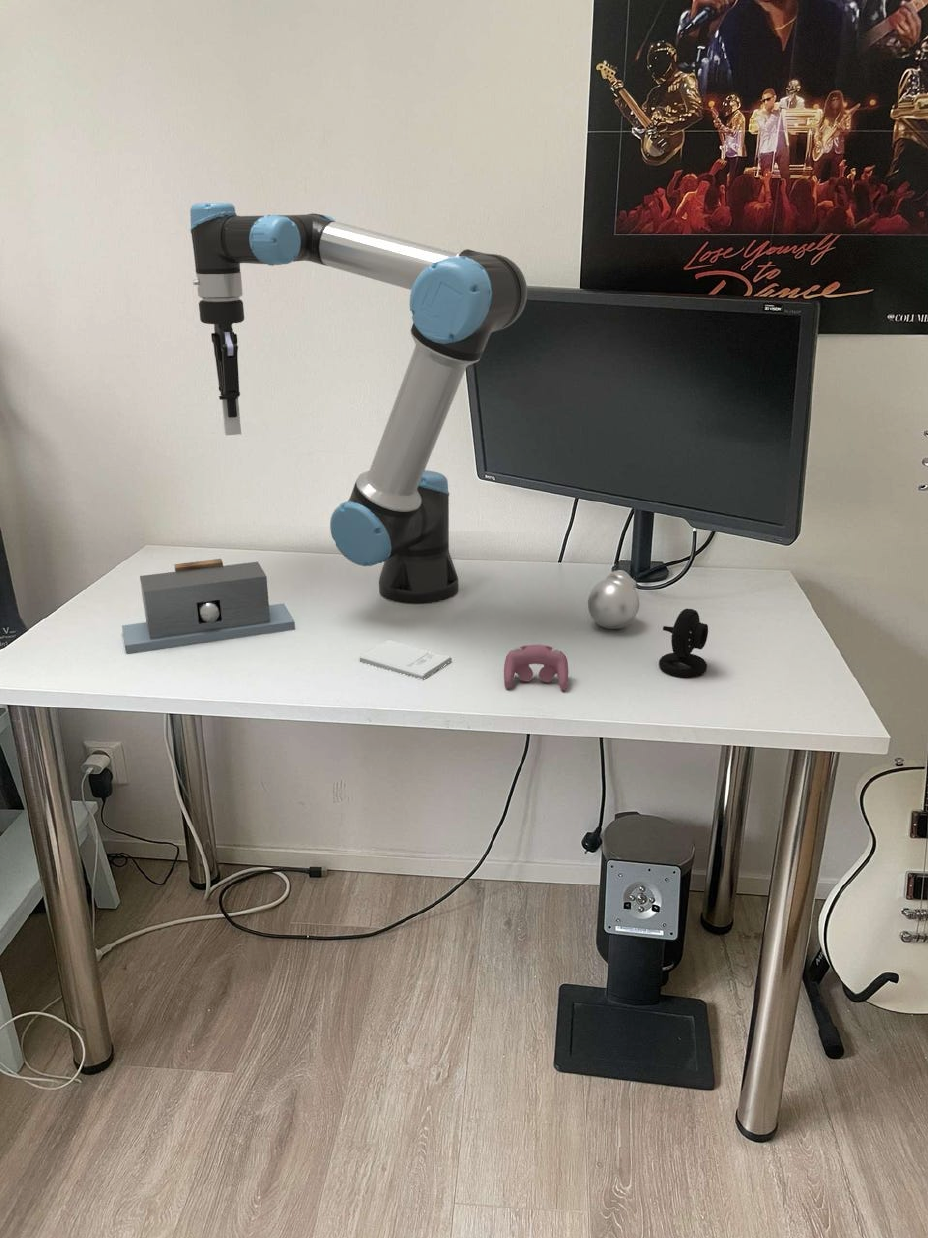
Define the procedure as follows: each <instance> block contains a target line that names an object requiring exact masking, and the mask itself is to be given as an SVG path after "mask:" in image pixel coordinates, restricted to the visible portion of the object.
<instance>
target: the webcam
mask: <svg viewBox="0 0 928 1238" xmlns="http://www.w3.org/2000/svg"><path fill="white" fill-rule="evenodd" d="M674 621H675V622H674V624H673V626H665V625H663V626H662V631H665V632H667V633H670V634H671V641H670V642H671V650H672V652H669V653H666V654H665V655H663V656H661V657H660V659H659V661H658V666H659V668H660V670H662V672H664V673H666V674H667V675H669V676H671V677H676V678H683V677H684V679H686V678H688V679H689V678H696V677H700V676H702V675H703V674H705V673H706V672H707V670H708V669H707V668H708V664H707V662H706V661H705V659H704V658H703V657H702V656H699V655H697V654H694V653H692V652H693V650H694V649H697V650H702V649H703V648H705V645H706V642H707V640H708V634H709V626H708V624H707V623H703V622H701V621H700V615H699V612H698V611H697V610H695V609H693V608H685V609H684V608H683V610H682V611H681V612H680V613H679V614H678V615H677V618H676V620H674ZM670 663H678V664H683V665H685V666H688V668H685V667H684V668H683V667H682V668H681V667H677V666H674V665H671V664H670Z"/></svg>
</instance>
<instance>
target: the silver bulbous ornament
mask: <svg viewBox="0 0 928 1238" xmlns="http://www.w3.org/2000/svg"><path fill="white" fill-rule="evenodd" d="M636 588H637V581H636V580H635V579H633V578H632V577H631V575H629V573H627V572H626V571H625V570H622V569H617V570H613V571H611V573H609V574H608V576H607V577H606V578H605V579H603V580H600V581H599V582H597V583H596V584H595V585H594V586H593V588H592V589H591V590H590V592H589V595H588V598H587V610H588V612H589V615H590V617H591V618H592V620H593V621H594V622H595V623H596V624H597V625H599V626H601V627H602V628H605V629H610V630H619V629H621V628H622V629H623V628H624V627H627V626H628V625H629V624H631V623H632V622H633V621H634V620H635V619H636V617H637V615H638V613H639V610H640V598H639V597H640V596H639V595H638V594H639V593H638V592H637V590H636Z"/></svg>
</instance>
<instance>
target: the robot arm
mask: <svg viewBox="0 0 928 1238" xmlns="http://www.w3.org/2000/svg"><path fill="white" fill-rule="evenodd" d="M189 212H190V229H189V230H190V231H189V232H190V233H191V241H192V249H193V257H194V263H195V264H194V266H195V275H196V279H193V280H192V282H193V286H196V287H197V295H198V297H199V298H201V300H199V302H198V308H199V309H198V310H199V318H200V321H201V323H202V324H206V325H214V326H213V329H214V332H212V333H210V335H211V337H210V338H211V342H212V344H213V352H214V357H215V358H214V359H215V366H216V373H217V380H218V390H219V392H220V395H219V396H218V397H219V400H221V405H222V407H221V408H222V415H223V427H224V435H225V436H237V435H242V429H241V428H242V427H241V426H242V425H241V416H240V406H239V397H240V395H241V392H240V380H239V378H240V377H239V362H238V361H239V360H238V358H239V357H238V353H239V352H238V351H239V350H238V349H239V345H238V335H237V333H235V332H234V329H233V324H238V323H242V322H244V320H245V312H244V310H245V309H244V302H243V300H242V299H240V297H242V296H243V285H242V272H241V264H255V265H268V266H272V267H273V266H282V265H289V264H291V263H293V262H294V263H295V262H304V261H305V262H312V263H315V264H317V265H318V264H319V265H321V266H325V267H331V268H334V269H337V270H340V271H343V272H344V271H345V272H347V273H350V274H353V275H354V274H355V275H358V276H361V277H364V278H369V279H372V280H375V281H379V282H382V283H386V284H389V285H392V286H396V287H400V288H403V289H406V290H410V295H409V311H410V312H411V315H412V317H411V319H412V326H411V329H410V335H411V338H412V339H413V341H414V344H415V346H414V348H413V352H412V354H411V357H410V360H409V362H408V365H407V368H406V370H405V374H404V376H403V378H402V382H401V384H400V385H399V386H400V387H399V390H398V392H397V396H396V398H395V400H394V403H393V405H392V409H391V411H390V414H389V417H388V419H387V422H386V425H385V426H384V427H385V428H384V430H383V432H382V436H381V438H380V441H379V443H378V446H377V449H376V452H375V455H374V458H373V460H372V463H371V465H370V469H369V470H367V471H364V472H362V473H360V474H358V476H357V478H356V480H355V483H354V484H353V488H352V491H351V493H350V496H349V499H348V500H347V501H344V502H341V503H340V504H339V505H338V506H337V507H336V508H335V509H334V510H333V512H332V513H331V516H330V522H329V529H330V530H329V531H330V535H331V538H332V539H333V541H334V543H335V546H336V549H338V551H339V553H341V555H342V556H344V558H346V559H347V560H349V561H350V562H351V563H353V564H356V565H359V566H362V567H369V566H370V567H371V566H375V565H377V564H382V563H383V565H382V567H381V568H382V569H381V572H380V574H379V578H378V592H379V595H381V596H382V597H383V598H385V599H386V600H389V601H392V602H394V603H400V604H409V605H410V604H411V605H426V604H432V603H433V604H435V603H438V602H439V603H440V602H443V601H447V600H449V599H450V598H453V597H454V596H455V595H457V594H458V591H459V576H458V574H457V571H456V567H455V565H454V562H453V560H452V555H451V553H450V547H449V546H450V542H449V541H450V533H449V531H450V530H449V529H450V521H449V519H450V518H449V517H450V515H449V514H450V513H449V512H450V509H449V508H450V507H449V504H450V502H449V499H450V492H449V483H448V482H449V481H448V479H447V477H446V476H445V475H444V474H442V473H441V472H437V471H434V470H433V471H432V470H427V469H426V468H427V465H428V463H429V461H430V459H431V456H432V453H433V451H434V449H435V446H436V444H437V441H438V438H439V436H440V433H441V431H442V428H443V427H444V424H445V421H446V418H447V417H448V413H449V411H450V409H451V406H452V404H453V401H454V398H455V396H456V394H457V392H458V389H459V386H460V385H461V381H462V379H463V376H464V374H465V371H466V369H467V367H468V366H470V365H473V364H475V363H478V362H479V361H480V359H482V357H483V356H482V355H483V354H484V351H485V348H486V345H487V344H488V340H489V338H490V336H491V334H492V333H493V332H498V331H501V330H503V329H506V328H508V327H510V326H511V325H512V324H513V323H515V322H516V321H517V319H518V318H519V317H520V316H521V315H522V313H523V311H524V309H525V306H526V303H527V299H528V287H527V286H528V285H527V282H526V279H525V275H524V274H523V272H522V270H521V268H520V267H519V266H518V265H517V264H516V263H515V262H514V261H513V260H511V259H509V257H506V256H504V255H501V254H495V253H487V252H486V253H485V252H480V251H476V250H473V249H472V250H471V249H468V248H465V249H462V250H460V251H459V252H454V251H449V250H446V249H442V248H439V247H434V246H431V245H427V244H425V243H424V244H423V243H419V242H415V241H412V240H407V239H404V238H400V237H397V236H392V235H388V234H386V233H385V234H384V233H382V232H378V231H374V230H371V229H365V228H363V227H358V226H355V225H352V224H346V223H343V222H340V221H337V220H335V219H334V218H333V217H332V216H329V215H326V214H321V213H316V212H315V213H313V212H312V213H307V214H279V215H278V214H273V215H272V214H268V215H237V213H236V207H235V205H234V204H233V203H231V202H199V203H198V202H195V203H193V204H192V205H191V206H190V210H189Z"/></svg>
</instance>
